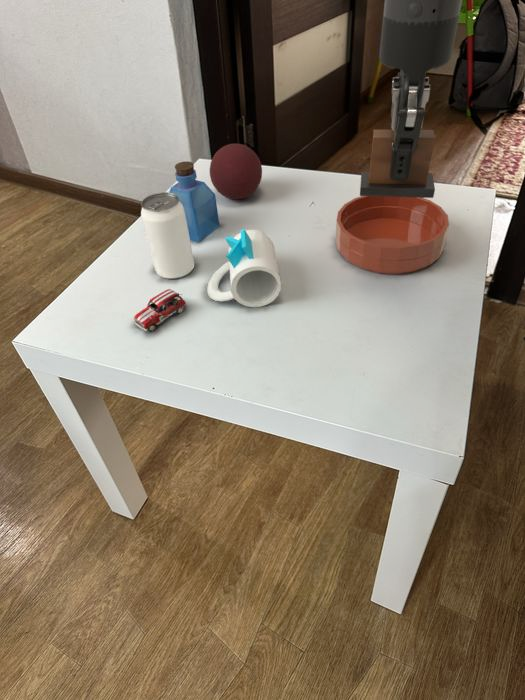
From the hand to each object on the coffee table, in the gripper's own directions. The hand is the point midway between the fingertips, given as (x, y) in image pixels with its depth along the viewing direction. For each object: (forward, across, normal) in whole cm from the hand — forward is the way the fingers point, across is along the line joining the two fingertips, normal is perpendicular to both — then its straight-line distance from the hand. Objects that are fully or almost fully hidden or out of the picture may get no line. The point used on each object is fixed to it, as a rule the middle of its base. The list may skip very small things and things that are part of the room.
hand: (398, 172), depth 62 cm
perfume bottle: (+18, +14, +33) cm, 40 cm away
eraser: (+2, 0, 0) cm, 2 cm away
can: (+18, +2, +33) cm, 38 cm away
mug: (+18, -2, +21) cm, 28 cm away
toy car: (+18, -10, +31) cm, 38 cm away
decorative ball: (+18, +26, +28) cm, 42 cm away
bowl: (+18, +11, -1) cm, 21 cm away
